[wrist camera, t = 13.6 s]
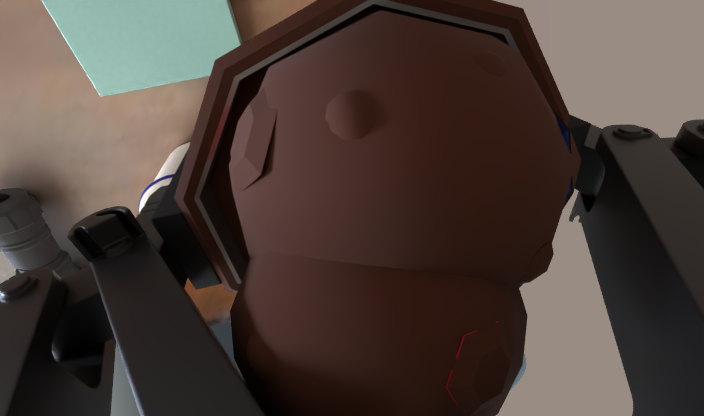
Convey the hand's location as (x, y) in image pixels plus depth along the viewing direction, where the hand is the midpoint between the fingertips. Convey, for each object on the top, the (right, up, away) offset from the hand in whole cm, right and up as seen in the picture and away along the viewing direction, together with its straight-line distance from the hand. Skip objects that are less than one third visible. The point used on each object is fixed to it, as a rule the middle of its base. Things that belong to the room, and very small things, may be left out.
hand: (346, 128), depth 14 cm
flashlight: (-37, -8, +25) cm, 45 cm away
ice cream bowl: (-1, +2, +3) cm, 3 cm away
